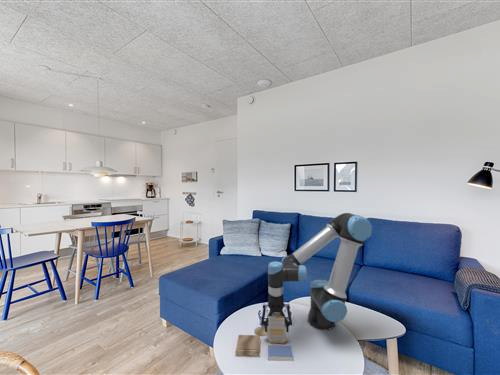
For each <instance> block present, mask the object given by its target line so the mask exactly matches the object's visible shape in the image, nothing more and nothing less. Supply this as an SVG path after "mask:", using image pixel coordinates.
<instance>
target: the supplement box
mask: <svg viewBox="0 0 500 375" xmlns="http://www.w3.org/2000/svg"><path fill="white" fill-rule="evenodd" d="M268 314H269V312H268V313H267V316H268ZM285 317H286V316H285ZM285 317H284V316H281V314H280V313H277V312H276V313H273V314H272V315H271V316H268V325H269V339H268V343H269V344H286V340H285Z"/></svg>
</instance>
